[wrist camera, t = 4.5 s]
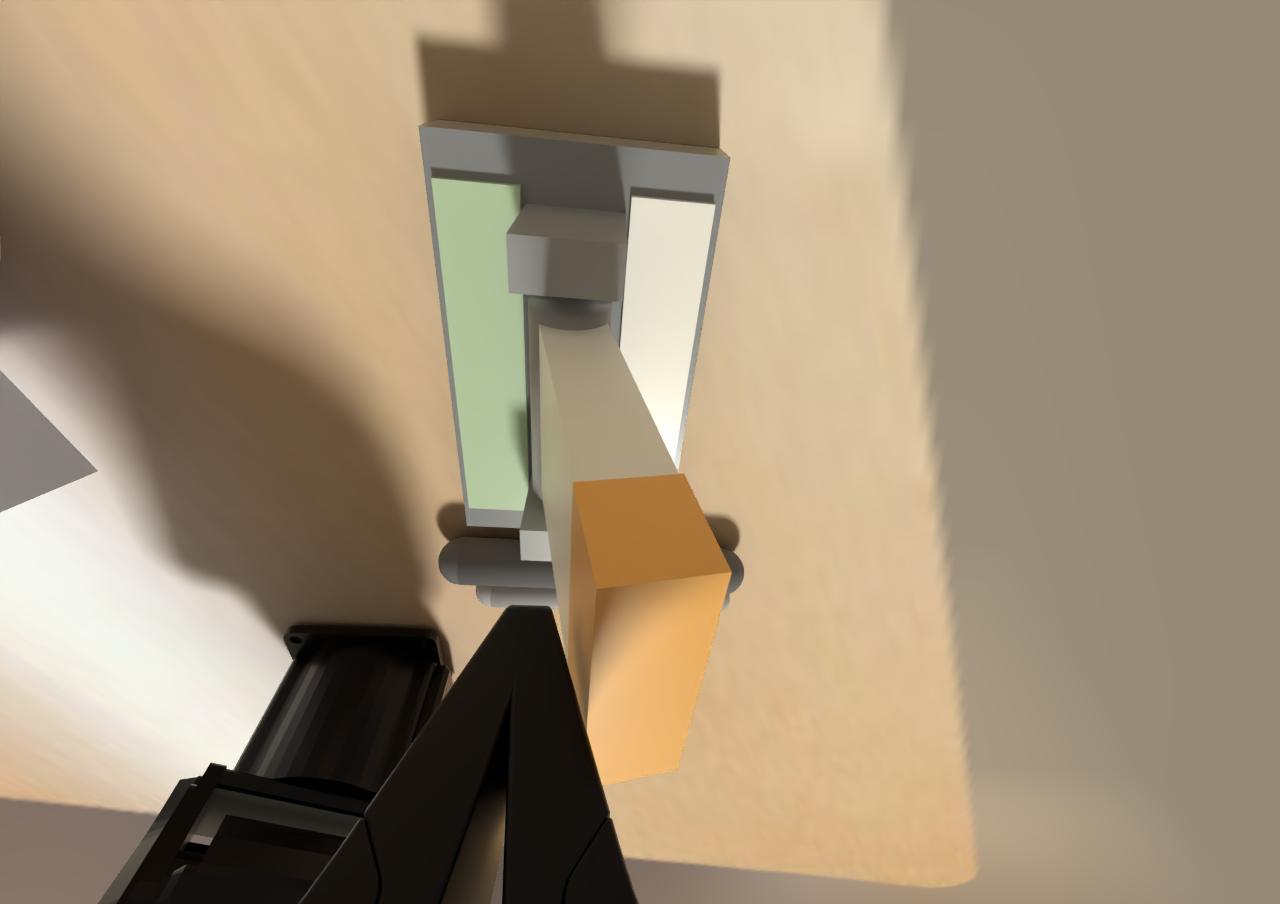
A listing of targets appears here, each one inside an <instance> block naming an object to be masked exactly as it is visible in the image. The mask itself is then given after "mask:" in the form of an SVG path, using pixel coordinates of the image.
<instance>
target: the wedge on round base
mask: <svg viewBox="0 0 1280 904" xmlns="http://www.w3.org/2000/svg"><path fill="white" fill-rule="evenodd" d="M0 261H1V237H0ZM95 472H97V470H96V469H95V468H94V467H93V466H92V464H91V463H90V462H89V461H88V460H87V459H86V458H85V457H84V456H83V455H82V454H81V453H80V452H79V451H78V450H77V449H76V448H75V447H74V446H73V445H72V444H71V443H70V442H69V441H68V440H67V439H66V438H65V437H64V436H63V435H62V434H61V432H60V431H59V430H58V429H57V428H56V427H55V426H54V425H53V424H52V423H51V422H50V421H49V420H48V419H47V418H46V417H45V416H44V415H43V414H42V413H41V412H40V411H39V410H38V409H37V408H36V407H35V406H34V405H33V404H32V403H31V402H30V401H29V399H28V398H27V397H26V396H25V395H24V394H23V393H22V392H21V391H20V390H19V389H18V388H17V387H16V386H15V385H14V384H13V383H12V382H11V381H10V380H9V379H8V378H7V377H6V376H5V375H4V374H3V373H2V372H1V371H0V512H2V511H4V510H6V509H9V508H11V507H14V506H16V505H18V504H21V503H23V502H25V501H28V500H30V499H33V498H35V497H37V496H40V495H42V494H45V493H47V492H49V491H52V490H54V489H56V488H59V487H61V486H64V485H66V484H68V483H71V482H73V481H75V480H78V479H80V478H83V477H85V476H87V475H90V474H92V473H95Z"/></svg>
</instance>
